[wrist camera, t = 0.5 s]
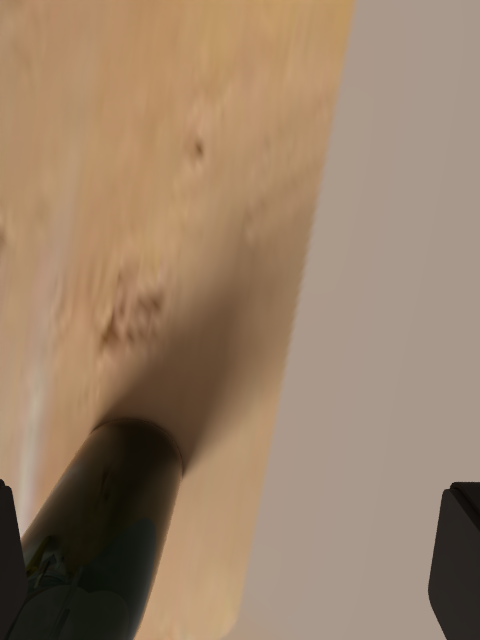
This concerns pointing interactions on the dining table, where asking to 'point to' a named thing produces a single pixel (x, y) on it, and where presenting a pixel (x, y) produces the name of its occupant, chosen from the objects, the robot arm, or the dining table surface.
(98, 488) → the beer bottle
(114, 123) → the dining table surface
